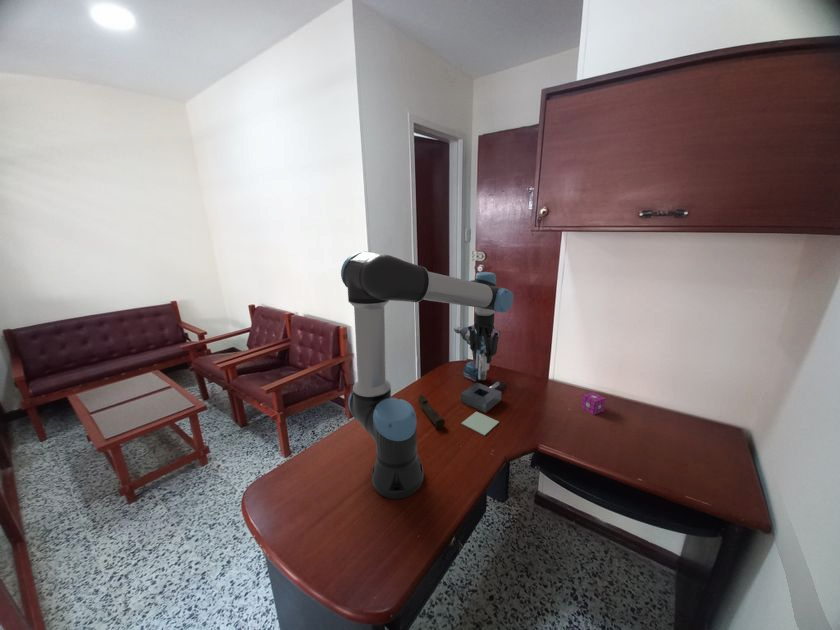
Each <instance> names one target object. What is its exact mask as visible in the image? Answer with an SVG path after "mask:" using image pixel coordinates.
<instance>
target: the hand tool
mask: <svg viewBox="0 0 840 630" xmlns="http://www.w3.org/2000/svg"><path fill="white" fill-rule="evenodd" d="M418 404H419V406H420V409H421V410H422V411H423V412H424V414H425V415H426V416H427V417H428V418H429V420H430V421H431V422H432V423H433V425H434V428H435V429H436V430H439V429H442V428H443V427H444V426H445V422H446V419H445V418H442V416H440V414H439V413H438V411H436V410H435V409H434V408H433V407H432V405H431V404H430V403H429V400H428V399H427V398H426V397H425V396H424V395H422V394H421V395H419V396H418Z"/></svg>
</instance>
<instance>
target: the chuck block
mask: <svg viewBox="0 0 840 630" xmlns="http://www.w3.org/2000/svg"><path fill="white" fill-rule="evenodd" d="M500 385H501V383H500V382H499V381H496V382H495V383H493V384H491V386H488V385H485V384H482V383H480V382H475V383H474V384H473V385H470V386H469V387H468V388H466V389H465V390H464V391H462V392H460V402H461V403H463V404H465V405H467V406H470V407H471V408H474V409H475V410H476V409H477V410H479V411H480V412H482V413H485V414H486V413H487V412H489V411H490V410H491V409H492V408H493V407H495V406H497V404H498V403H500V402H501V401H502V391H501V390H498V389H497V387H499V386H500Z"/></svg>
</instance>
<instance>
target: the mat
mask: <svg viewBox="0 0 840 630" xmlns="http://www.w3.org/2000/svg"><path fill="white" fill-rule="evenodd" d="M499 423H500V421H499V420H496V419H494V418H492V417H490V416H487V415H485V414H483V413H481V412H478V411H475V412H474V413H473V414H471V415H470V416H469V417H466V419H465V420H464V421H462V422H461V423H460V424H461V425H462V426H464V427H465V428H466V427H467V428H468V429H470V430H473V431H474V432H476V433H478V434H480V435H482V436H486V435H488V433H490V432H491V430H493V429H494V428H495V427H496V426H497V425H498V424H499Z"/></svg>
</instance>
